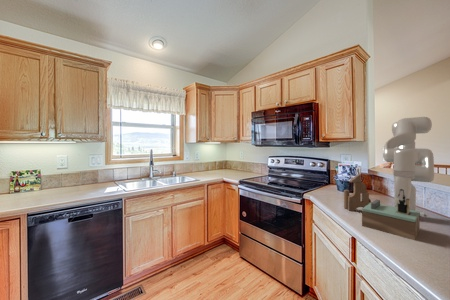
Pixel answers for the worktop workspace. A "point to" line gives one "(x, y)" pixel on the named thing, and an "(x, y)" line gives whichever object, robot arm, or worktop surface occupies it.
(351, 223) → the worktop surface
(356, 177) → the wooden toy
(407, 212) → the block
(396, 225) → the open wooden box
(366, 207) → the lid
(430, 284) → the worktop surface
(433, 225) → the worktop surface
